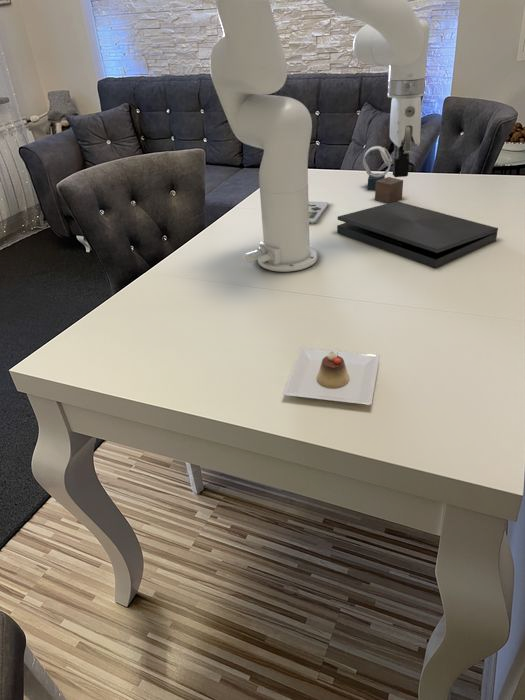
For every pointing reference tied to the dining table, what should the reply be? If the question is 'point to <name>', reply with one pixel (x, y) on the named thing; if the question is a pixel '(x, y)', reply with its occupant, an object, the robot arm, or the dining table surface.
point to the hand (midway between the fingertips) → (400, 175)
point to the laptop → (409, 249)
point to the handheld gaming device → (316, 210)
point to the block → (388, 190)
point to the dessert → (333, 376)
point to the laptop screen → (418, 226)
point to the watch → (375, 177)
